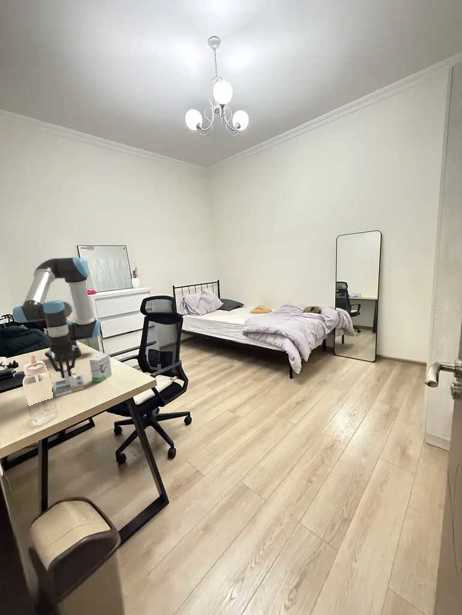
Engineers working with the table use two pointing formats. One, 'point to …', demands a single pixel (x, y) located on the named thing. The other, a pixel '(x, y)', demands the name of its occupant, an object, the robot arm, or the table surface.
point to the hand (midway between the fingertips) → (67, 383)
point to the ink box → (100, 368)
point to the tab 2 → (73, 381)
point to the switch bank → (67, 387)
